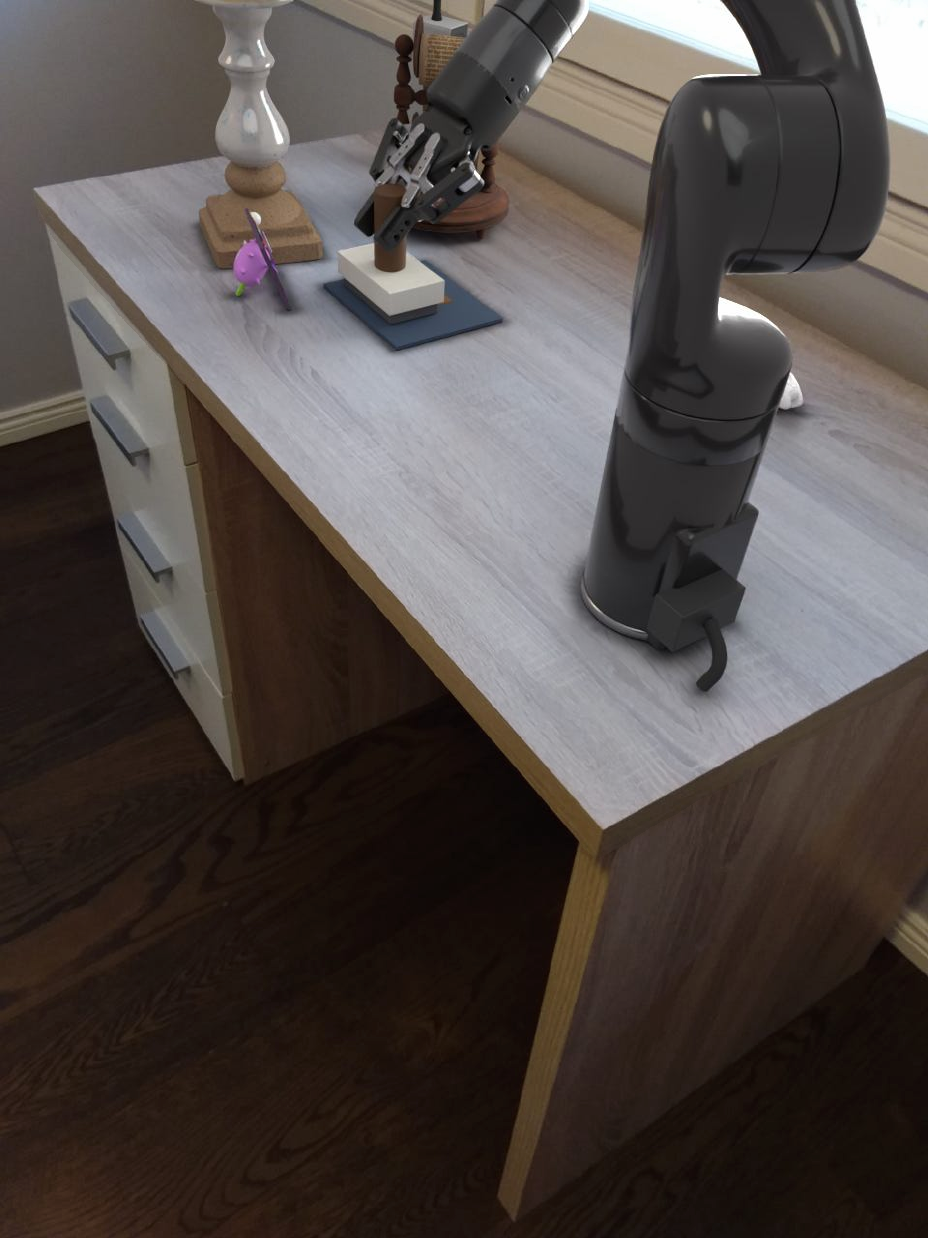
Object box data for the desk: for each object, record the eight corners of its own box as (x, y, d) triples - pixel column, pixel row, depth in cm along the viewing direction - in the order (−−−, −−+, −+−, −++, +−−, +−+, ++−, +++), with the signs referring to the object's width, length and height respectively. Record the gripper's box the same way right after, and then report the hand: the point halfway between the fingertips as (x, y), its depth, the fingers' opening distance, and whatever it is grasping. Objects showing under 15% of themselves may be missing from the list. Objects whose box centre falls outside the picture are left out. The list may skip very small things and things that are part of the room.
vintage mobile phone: (442, 184, 122) (454, -62, 105) (408, 173, 124) (415, -71, 107) (459, 175, 124) (474, -67, 107) (426, 165, 126) (435, -75, 109)
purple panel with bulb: (270, 243, 92) (254, 203, 98) (217, 265, 92) (204, 224, 98) (298, 306, 97) (281, 264, 103) (248, 327, 97) (234, 284, 103)
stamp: (443, 313, 98) (448, 204, 91) (389, 327, 95) (390, 216, 88) (390, 271, 104) (391, 165, 96) (338, 283, 101) (334, 175, 94)
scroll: (511, 198, 120) (530, 6, 106) (502, 252, 110) (521, 46, 96) (387, 185, 121) (390, -8, 107) (366, 237, 110) (366, 30, 96)
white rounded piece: (776, 419, 89) (785, 391, 87) (732, 372, 94) (740, 345, 92) (807, 415, 90) (816, 387, 88) (762, 369, 95) (770, 342, 93)
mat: (502, 321, 99) (503, 317, 98) (396, 350, 93) (396, 346, 93) (425, 263, 107) (425, 259, 106) (323, 287, 101) (323, 282, 101)
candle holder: (298, 216, 113) (286, -35, 96) (324, 259, 106) (316, -4, 89) (198, 224, 110) (168, -34, 93) (218, 269, 102) (189, -2, 86)
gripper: (423, 27, 92) (308, 186, 95) (514, 73, 84) (385, 246, 87) (468, 84, 98) (358, 232, 101) (557, 132, 90) (434, 291, 93)
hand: (371, 237), depth 94 cm, fingers closed on stamp, 3 cm apart
